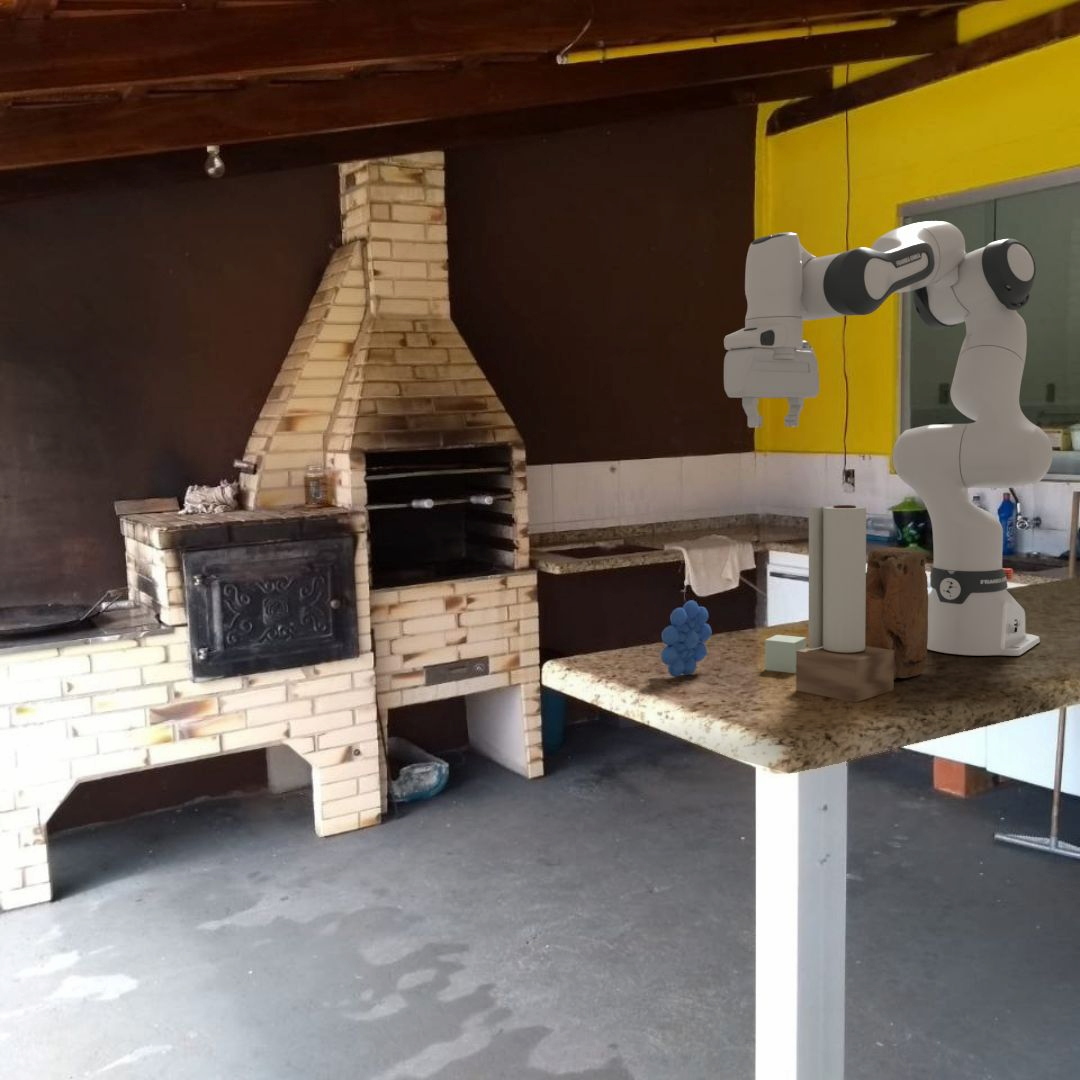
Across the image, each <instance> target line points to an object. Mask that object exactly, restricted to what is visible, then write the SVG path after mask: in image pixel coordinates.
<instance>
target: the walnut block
mask: <svg viewBox="0 0 1080 1080" xmlns="http://www.w3.org/2000/svg"><path fill="white" fill-rule="evenodd" d="M795 675H796V678H795V683H796V684H795V685H796V686H795V687H796V688H795V689H796V690H795V691H797V692H803V693H807V694H812V695H817V696H823V697H825V698H832V699H835V700H841V701H846V702H850V703H858V702H861V701H864V700H867V699H871V698H873V697H877V696H880V695H883V694H886V693H889V692H892V691H894V650H889V649H882V648H876V647H870V646H865V650H863V651H860V652H852V653H843V652H833V651H828V650H825V649H824V648H823V646H822V647H818V648H812V649H809V647H806V649H802V650H798V651H796V673H795Z"/></svg>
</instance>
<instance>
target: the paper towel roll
mask: <svg viewBox="0 0 1080 1080" xmlns="http://www.w3.org/2000/svg"><path fill="white" fill-rule="evenodd" d="M866 572H867V507H866V506H860V505H859V506H856V505H853V504H852V505H851V504H849V505H848V504H844V505H843V504H842V505H841V504H840V505H833V506H819V507H809V508H808V648H809V649H812V648H818V647H822V646H823V648H824V649H825V650H828V651H833V652H843V653H852V652H860V651H863V650H865V617H866Z"/></svg>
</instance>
